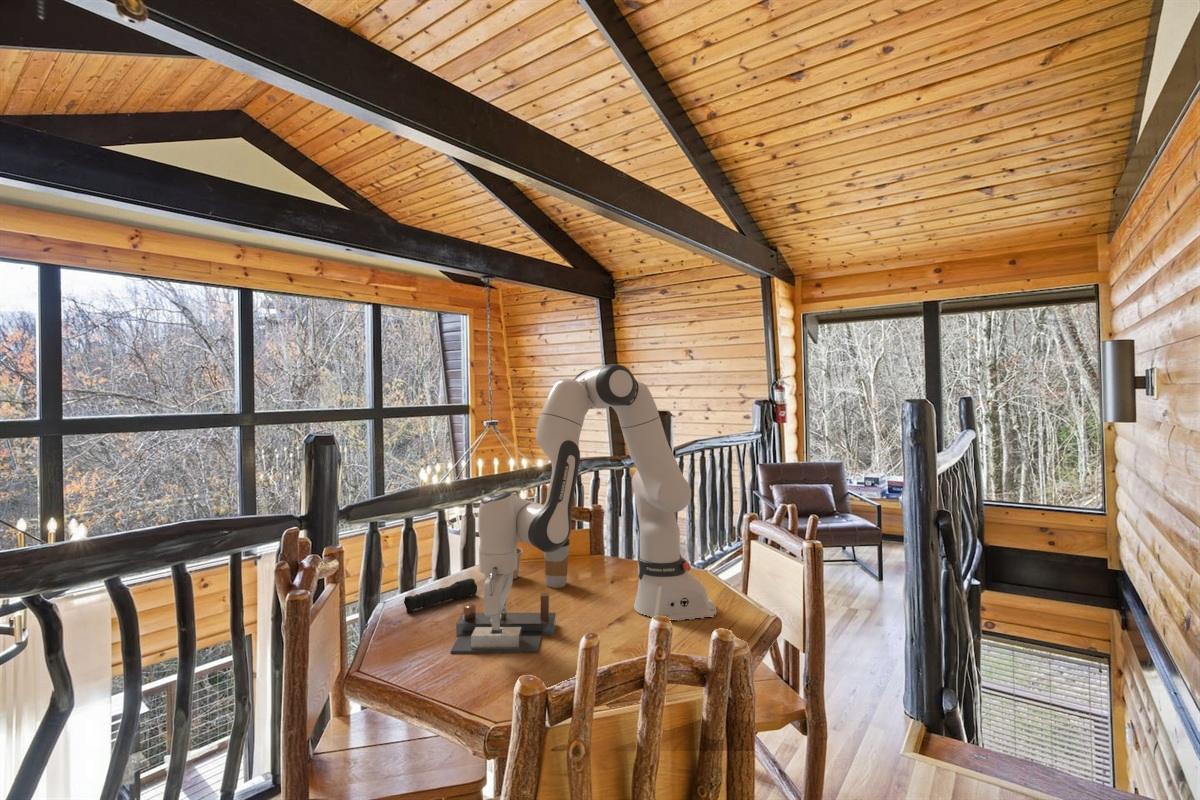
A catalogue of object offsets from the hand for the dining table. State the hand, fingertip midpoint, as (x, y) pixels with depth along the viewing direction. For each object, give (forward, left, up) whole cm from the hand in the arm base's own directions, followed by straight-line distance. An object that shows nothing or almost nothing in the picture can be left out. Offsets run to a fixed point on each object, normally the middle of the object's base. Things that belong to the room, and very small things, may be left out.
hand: (499, 620), depth 136 cm
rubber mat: (+1, 0, -6) cm, 6 cm away
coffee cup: (-10, -43, -7) cm, 45 cm away
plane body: (0, -9, -6) cm, 11 cm away
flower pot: (+6, -50, -7) cm, 51 cm away
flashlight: (+21, -28, -7) cm, 36 cm away
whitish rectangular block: (+1, 0, -6) cm, 6 cm away
